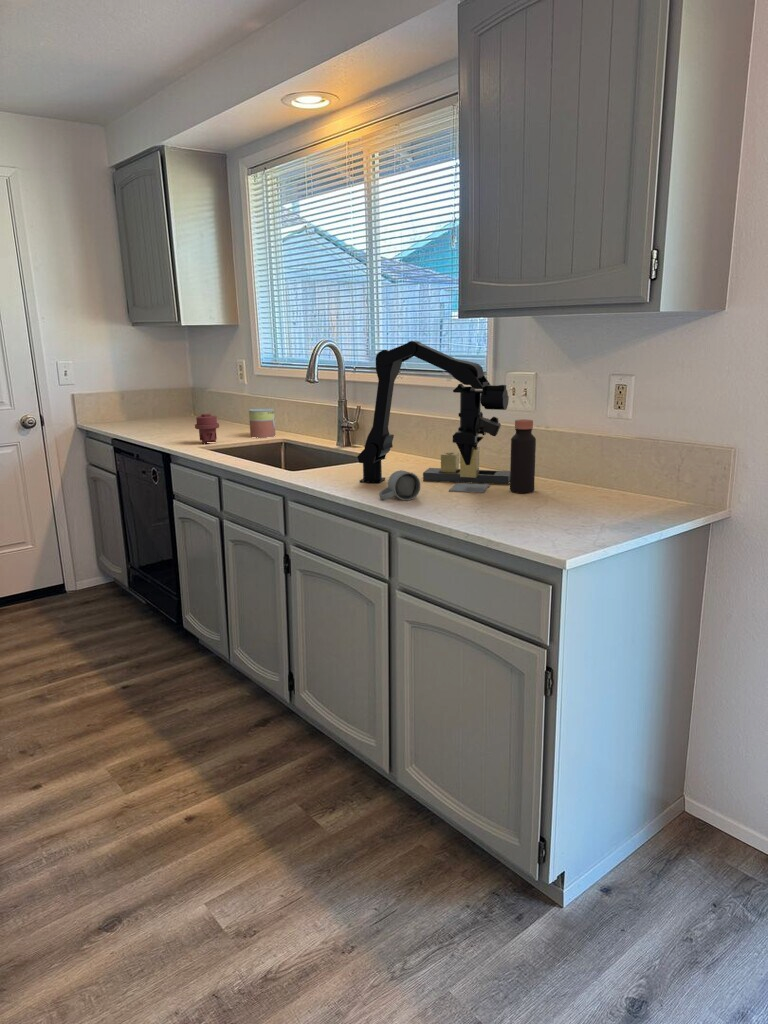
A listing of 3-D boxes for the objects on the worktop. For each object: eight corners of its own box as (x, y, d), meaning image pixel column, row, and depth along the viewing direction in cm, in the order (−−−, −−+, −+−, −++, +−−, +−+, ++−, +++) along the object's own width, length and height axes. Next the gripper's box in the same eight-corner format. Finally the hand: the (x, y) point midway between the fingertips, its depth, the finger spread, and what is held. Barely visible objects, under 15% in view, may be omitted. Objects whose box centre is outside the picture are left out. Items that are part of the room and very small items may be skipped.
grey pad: (483, 493, 199) (483, 491, 199) (448, 491, 202) (448, 490, 202) (489, 485, 208) (489, 484, 208) (456, 484, 211) (456, 483, 211)
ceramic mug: (411, 493, 200) (410, 466, 199) (421, 499, 193) (420, 471, 191) (375, 497, 197) (374, 470, 196) (384, 503, 190) (383, 475, 188)
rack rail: (508, 484, 209) (508, 476, 209) (423, 480, 217) (423, 472, 216) (512, 479, 217) (512, 471, 216) (429, 475, 224) (429, 467, 224)
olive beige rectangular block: (476, 477, 201) (476, 449, 199) (460, 476, 202) (460, 448, 200) (478, 474, 205) (479, 446, 203) (463, 473, 207) (463, 446, 205)
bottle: (531, 494, 196) (533, 422, 191) (507, 492, 199) (508, 421, 194) (536, 489, 202) (539, 419, 197) (513, 487, 205) (515, 418, 200)
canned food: (277, 437, 314) (275, 410, 311) (251, 438, 312) (249, 411, 309) (274, 434, 325) (272, 407, 322) (249, 435, 322) (247, 409, 319)
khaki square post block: (455, 481, 216) (455, 454, 214) (440, 480, 217) (440, 454, 215) (458, 478, 220) (458, 452, 218) (444, 477, 221) (444, 451, 219)
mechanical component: (198, 445, 295) (194, 442, 304) (222, 443, 299) (217, 440, 308) (196, 416, 292) (192, 413, 301) (220, 414, 296) (215, 412, 305)
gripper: (493, 413, 188) (492, 470, 192) (503, 405, 205) (502, 459, 209) (452, 412, 191) (451, 469, 195) (466, 405, 209) (465, 457, 213)
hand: (469, 463), depth 203 cm, fingers closed on olive beige rectangular block, 5 cm apart
